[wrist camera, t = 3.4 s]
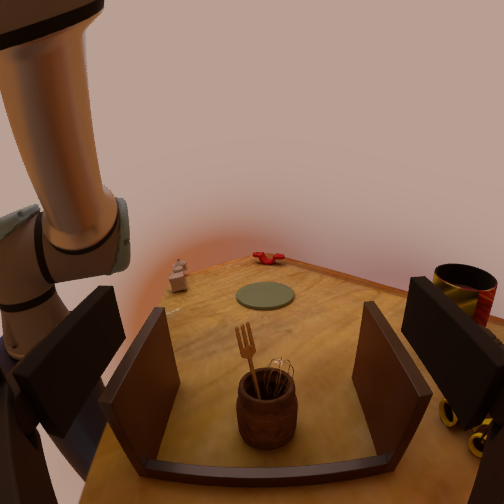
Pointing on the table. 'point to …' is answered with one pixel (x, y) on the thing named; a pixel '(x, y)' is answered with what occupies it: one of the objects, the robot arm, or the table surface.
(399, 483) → the table surface
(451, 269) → the mug
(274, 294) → the rubber mat
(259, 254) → the pipe clamp
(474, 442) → the opera glasses
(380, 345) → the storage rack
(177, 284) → the toy set
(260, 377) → the utensil holder
